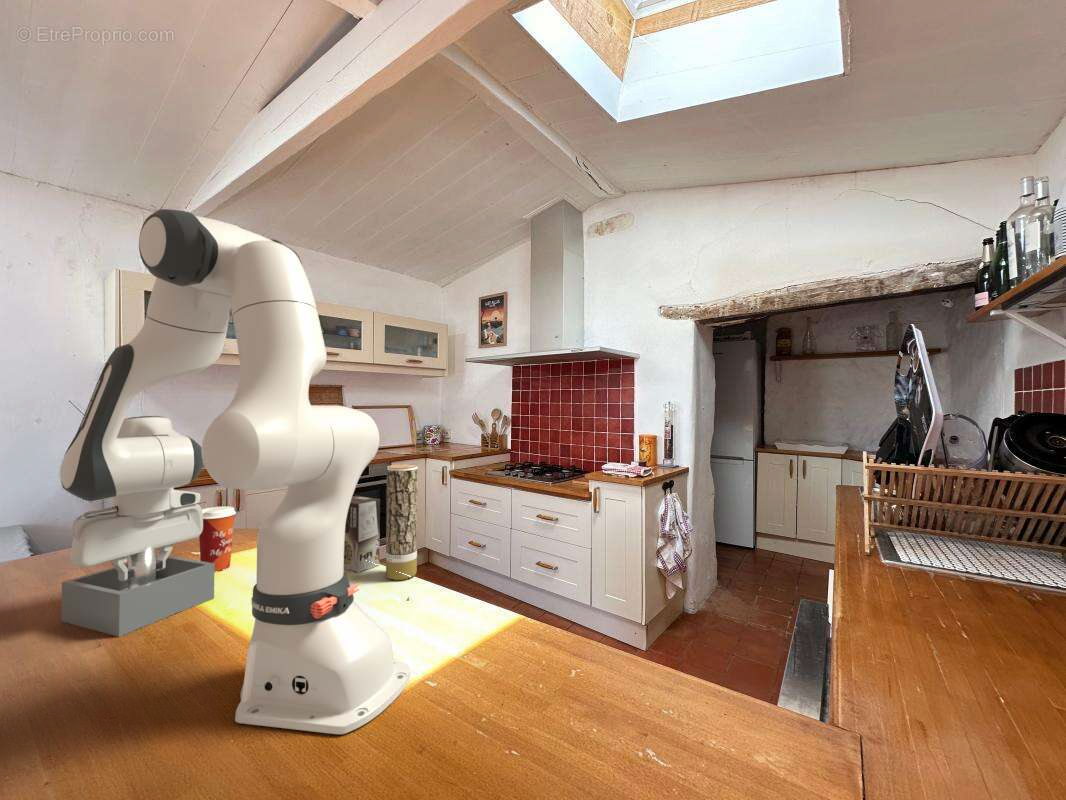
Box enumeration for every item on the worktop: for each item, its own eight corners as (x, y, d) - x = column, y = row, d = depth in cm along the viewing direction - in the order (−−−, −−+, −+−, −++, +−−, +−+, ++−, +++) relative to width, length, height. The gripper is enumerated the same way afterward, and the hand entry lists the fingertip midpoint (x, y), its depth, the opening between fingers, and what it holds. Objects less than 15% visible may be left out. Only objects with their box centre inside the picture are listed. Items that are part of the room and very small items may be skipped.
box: (214, 598, 91) (214, 563, 91) (119, 636, 76) (119, 594, 76) (160, 587, 96) (160, 554, 96) (61, 621, 81) (61, 582, 81)
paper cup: (220, 574, 103) (221, 513, 103) (187, 574, 103) (188, 512, 104) (242, 562, 111) (243, 505, 111) (211, 562, 111) (212, 505, 111)
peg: (160, 606, 87) (161, 544, 87) (136, 615, 83) (137, 550, 83) (146, 603, 88) (147, 541, 88) (122, 612, 84) (123, 547, 85)
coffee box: (380, 565, 110) (381, 498, 110) (357, 573, 105) (358, 503, 105) (356, 558, 115) (357, 494, 115) (333, 565, 109) (334, 499, 110)
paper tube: (408, 582, 99) (409, 468, 100) (379, 580, 101) (381, 467, 101) (421, 571, 106) (422, 465, 106) (395, 569, 107) (396, 464, 108)
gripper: (85, 515, 75) (83, 598, 75) (208, 492, 94) (207, 559, 94) (62, 512, 77) (60, 593, 77) (187, 491, 96) (186, 555, 96)
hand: (142, 574), depth 86 cm, fingers closed on peg, 4 cm apart
